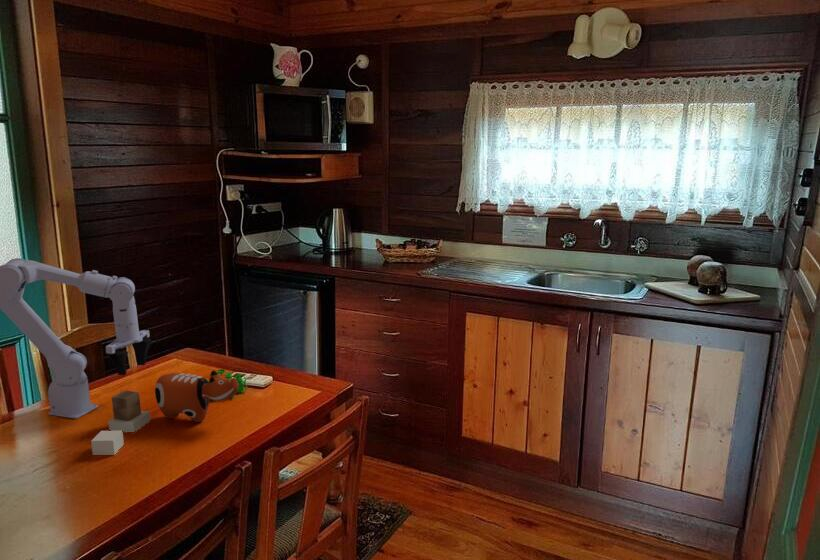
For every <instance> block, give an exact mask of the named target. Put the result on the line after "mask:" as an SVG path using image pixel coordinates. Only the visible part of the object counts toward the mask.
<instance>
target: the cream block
mask: <svg viewBox="0 0 820 560" xmlns="http://www.w3.org/2000/svg"><path fill="white" fill-rule="evenodd" d="M90 442H91V451H92V456H93V455H115V454H116V453H117V452H118V453H119V451H120V450H121V449H122V448H123V447H122V446H123V445H125V442H124V432H122V430H120V431H109V430H100V432H98V433H97V434H96V435H95V437H94V438H93V439H91V440H90ZM121 447H122V448H121ZM120 448H121V449H120ZM119 449H120V450H119ZM118 450H119V451H118ZM118 453H117V454H118ZM117 454H116V455H117ZM116 455H115V456H116Z"/></svg>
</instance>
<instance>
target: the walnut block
mask: <svg viewBox="0 0 820 560" xmlns="http://www.w3.org/2000/svg"><path fill="white" fill-rule="evenodd" d="M111 404H112V413H113V418H114V419H117V420H124V421H130V420H132V419H133V418H135V417H137V416H138V415H140V414H141V411H142V408H141V399H140V392H139V391H131V390H125V389H124V390H122V391H120V392H119V393H116V394H115V395H113V396H112V397H111Z"/></svg>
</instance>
